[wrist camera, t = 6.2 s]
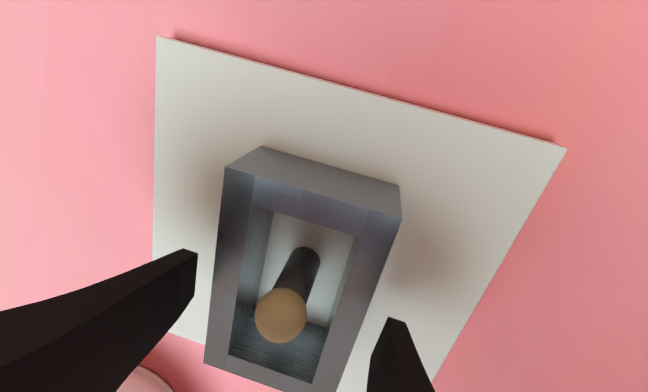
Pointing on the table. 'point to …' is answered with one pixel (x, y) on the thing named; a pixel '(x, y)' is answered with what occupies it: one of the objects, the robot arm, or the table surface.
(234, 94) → the keeper board
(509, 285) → the table surface
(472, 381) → the table surface
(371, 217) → the grey rectangular frame
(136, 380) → the lidded jar
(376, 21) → the table surface
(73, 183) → the table surface
